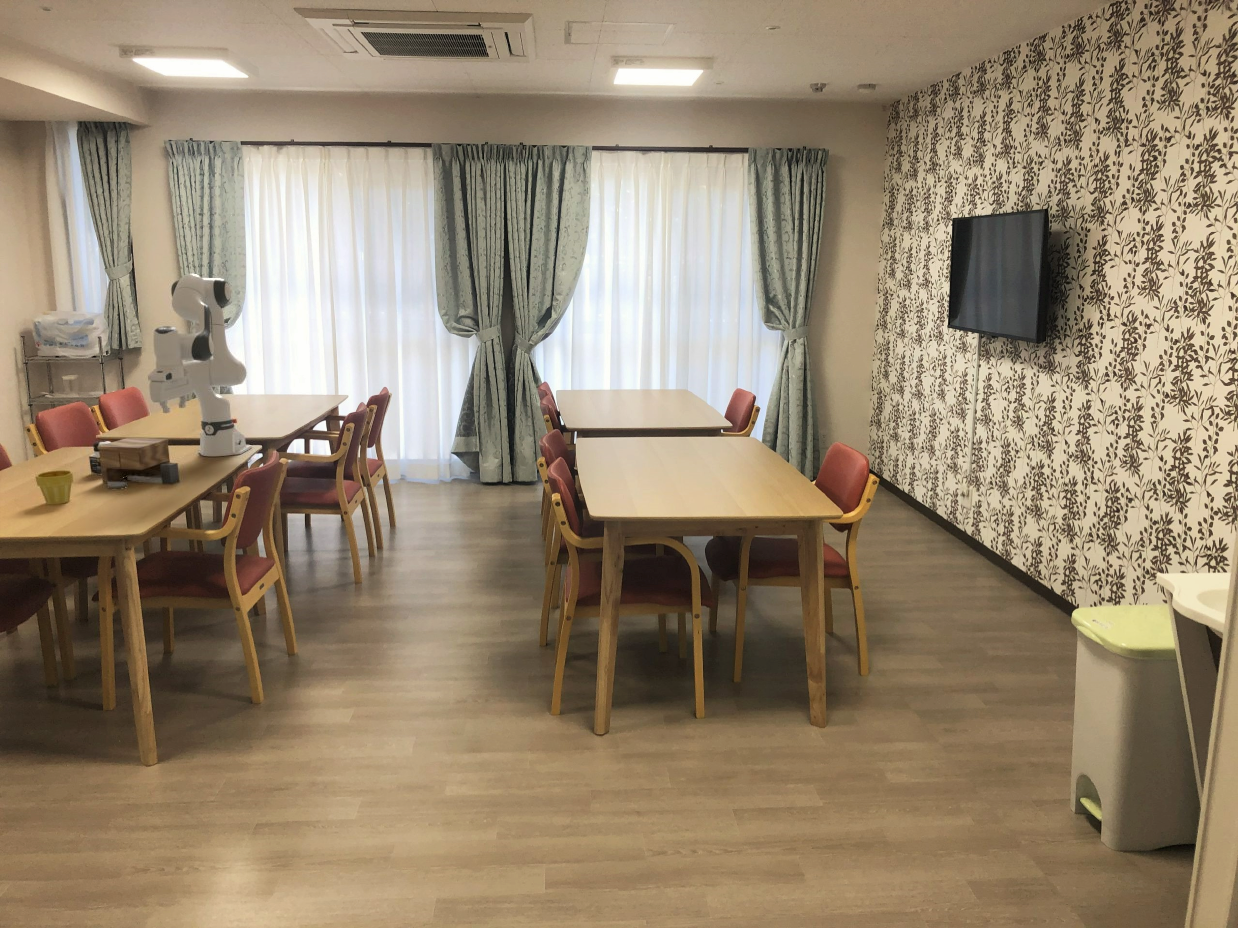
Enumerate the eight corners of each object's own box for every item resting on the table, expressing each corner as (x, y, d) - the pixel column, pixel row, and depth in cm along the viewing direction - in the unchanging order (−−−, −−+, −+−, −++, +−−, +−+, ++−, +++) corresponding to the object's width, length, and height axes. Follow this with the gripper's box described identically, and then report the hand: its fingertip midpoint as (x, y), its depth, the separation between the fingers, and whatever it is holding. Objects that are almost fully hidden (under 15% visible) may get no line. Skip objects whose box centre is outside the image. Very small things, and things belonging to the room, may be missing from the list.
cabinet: (132, 472, 344) (128, 437, 341) (172, 474, 341) (168, 439, 338) (101, 483, 327) (97, 446, 325) (143, 484, 325) (139, 447, 322)
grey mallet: (136, 478, 335) (134, 459, 334) (179, 482, 330) (177, 463, 328) (127, 480, 332) (125, 461, 330) (171, 484, 326) (169, 465, 325)
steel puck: (117, 485, 325) (116, 478, 324) (131, 486, 323) (130, 479, 323) (104, 489, 319) (103, 482, 319) (118, 490, 318) (117, 483, 317)
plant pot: (40, 507, 294) (36, 478, 292) (38, 501, 302) (34, 472, 300) (77, 503, 300) (74, 474, 298) (74, 496, 308) (70, 468, 306)
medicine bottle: (90, 473, 342) (86, 442, 339) (108, 470, 348) (104, 439, 346) (103, 475, 339) (100, 444, 336) (121, 471, 345) (117, 440, 343)
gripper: (179, 367, 338) (183, 404, 341) (144, 376, 318) (149, 415, 322) (195, 368, 337) (199, 405, 341) (161, 377, 317) (165, 416, 321)
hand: (174, 410), depth 331 cm, fingers open, 8 cm apart
